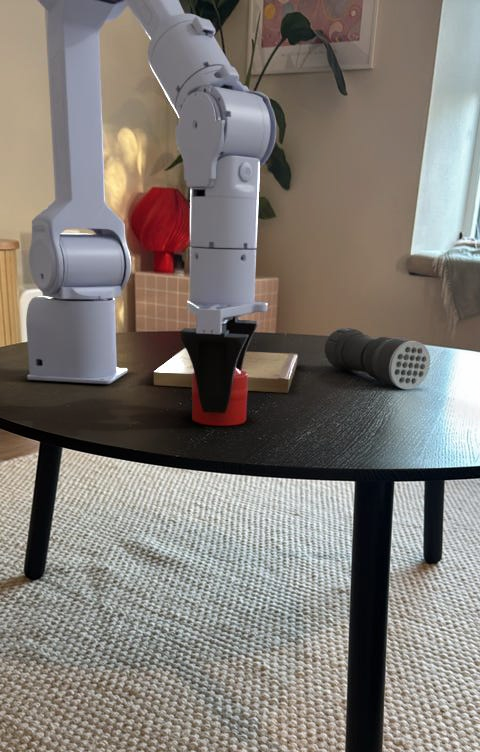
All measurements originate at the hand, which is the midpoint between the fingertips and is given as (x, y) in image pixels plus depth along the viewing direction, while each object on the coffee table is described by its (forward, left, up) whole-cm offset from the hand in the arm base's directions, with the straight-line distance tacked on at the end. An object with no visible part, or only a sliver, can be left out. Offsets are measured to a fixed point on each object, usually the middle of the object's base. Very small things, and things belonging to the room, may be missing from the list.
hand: (219, 404), depth 69 cm
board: (-2, +23, -1) cm, 23 cm away
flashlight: (+15, +26, -2) cm, 30 cm away
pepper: (0, 0, -1) cm, 1 cm away
